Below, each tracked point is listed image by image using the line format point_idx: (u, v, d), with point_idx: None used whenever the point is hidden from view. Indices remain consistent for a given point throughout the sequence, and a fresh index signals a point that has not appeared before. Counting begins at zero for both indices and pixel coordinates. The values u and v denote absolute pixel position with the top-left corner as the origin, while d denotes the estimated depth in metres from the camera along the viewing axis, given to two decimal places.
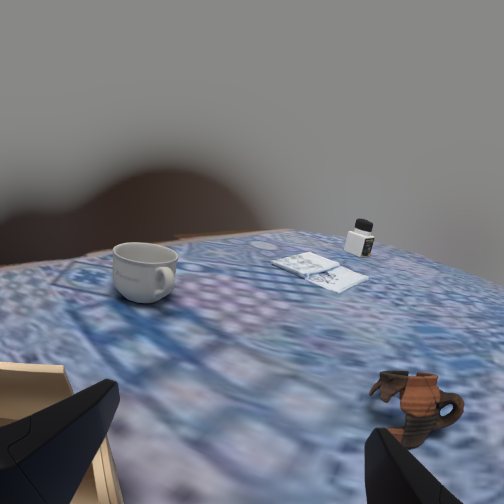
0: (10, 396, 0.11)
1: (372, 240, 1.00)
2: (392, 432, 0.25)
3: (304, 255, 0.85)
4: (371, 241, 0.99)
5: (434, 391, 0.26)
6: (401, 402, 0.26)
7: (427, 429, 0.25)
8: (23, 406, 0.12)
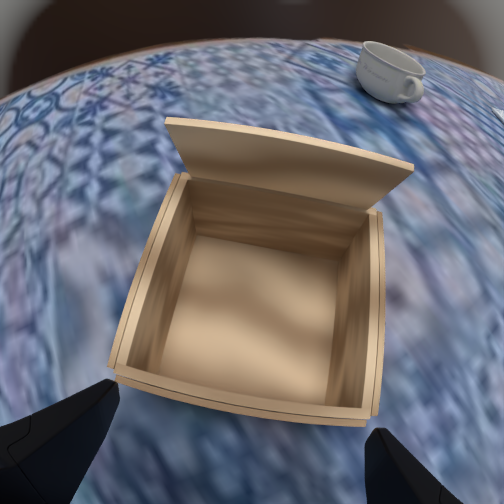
0: (325, 176, 0.16)
1: None
2: None
3: None
4: None
5: None
6: None
7: None
8: (327, 185, 0.18)
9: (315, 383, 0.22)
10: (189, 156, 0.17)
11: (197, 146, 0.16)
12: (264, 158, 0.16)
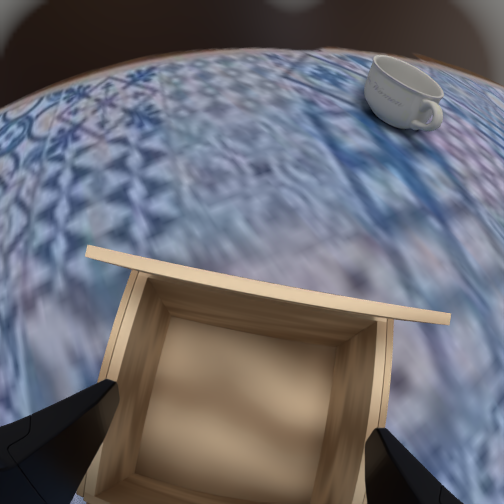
0: None
1: None
2: None
3: None
4: None
5: None
6: None
7: None
8: (325, 308, 0.13)
9: (301, 482, 0.17)
10: None
11: None
12: (236, 291, 0.11)
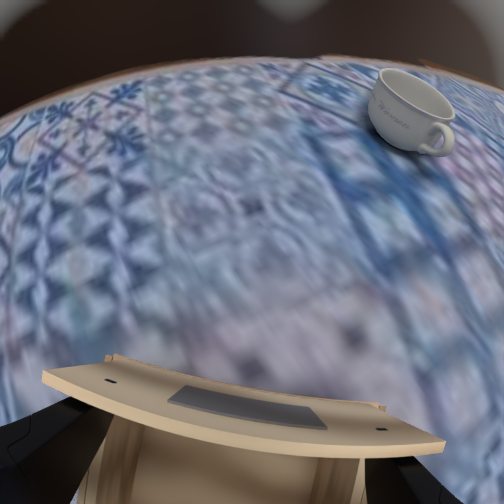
0: None
1: None
2: None
3: None
4: None
5: None
6: None
7: None
8: None
9: None
10: None
11: None
12: None
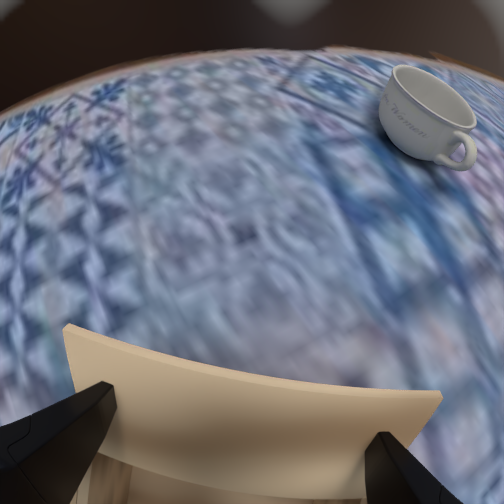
0: (305, 453, 0.09)
1: None
2: None
3: None
4: None
5: None
6: None
7: None
8: (305, 472, 0.09)
9: None
10: None
11: None
12: (206, 426, 0.09)
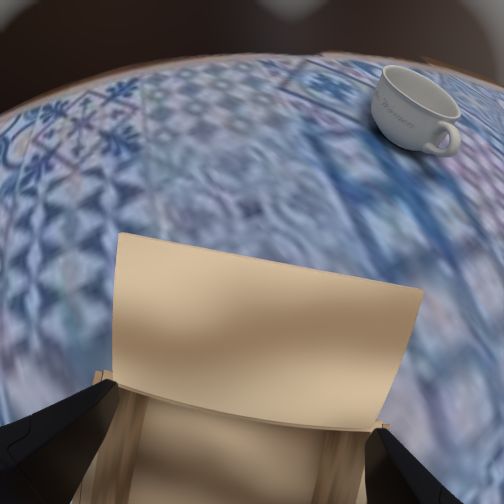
0: (315, 350, 0.12)
1: None
2: None
3: None
4: None
5: None
6: None
7: None
8: (316, 379, 0.12)
9: None
10: (125, 321, 0.12)
11: (143, 292, 0.12)
12: (231, 319, 0.12)
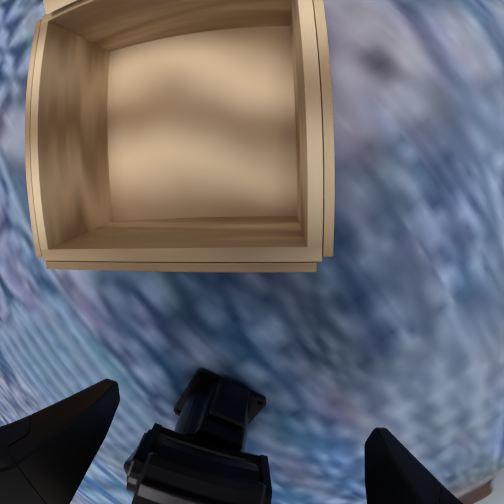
0: None
1: None
2: None
3: None
4: None
5: None
6: None
7: None
8: None
9: (281, 185, 0.19)
10: None
11: None
12: None
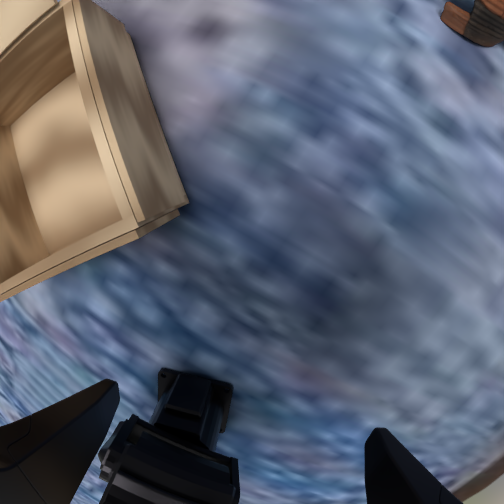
0: None
1: None
2: (454, 10, 0.13)
3: None
4: None
5: None
6: None
7: (501, 34, 0.12)
8: None
9: None
10: None
11: None
12: None
